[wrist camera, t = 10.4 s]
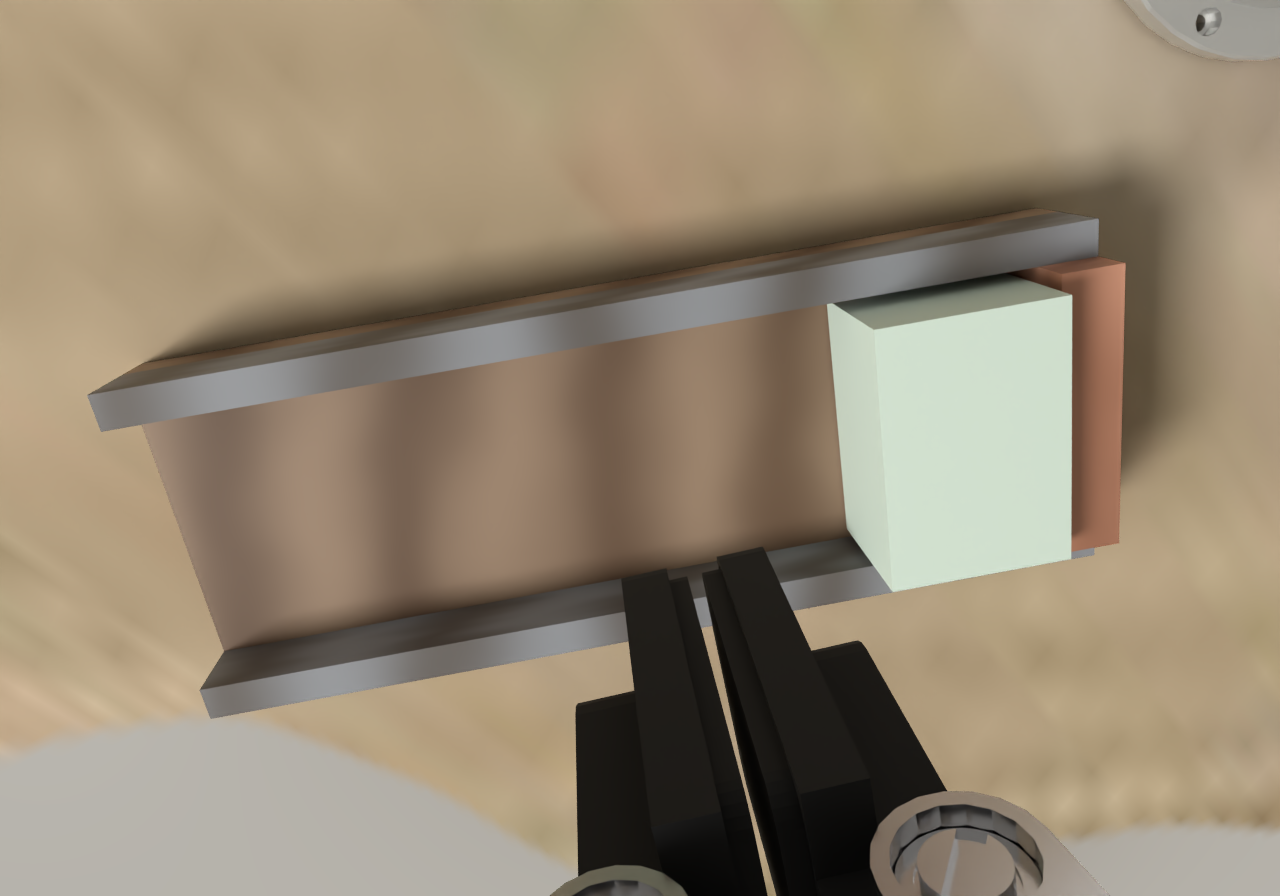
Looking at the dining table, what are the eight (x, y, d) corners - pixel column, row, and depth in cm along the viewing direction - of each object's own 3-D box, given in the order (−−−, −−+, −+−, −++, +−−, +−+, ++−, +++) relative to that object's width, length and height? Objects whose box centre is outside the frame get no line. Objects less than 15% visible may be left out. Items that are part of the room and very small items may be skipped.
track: (1036, 208, 33) (1126, 223, 28) (1039, 511, 37) (1118, 574, 32) (142, 363, 32) (62, 409, 27) (246, 656, 36) (194, 746, 31)
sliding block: (995, 269, 32) (1072, 294, 27) (1001, 500, 35) (1071, 558, 30) (826, 299, 32) (873, 330, 27) (846, 528, 35) (892, 592, 30)
